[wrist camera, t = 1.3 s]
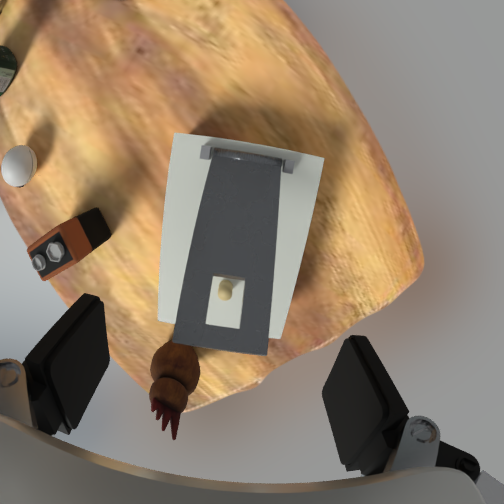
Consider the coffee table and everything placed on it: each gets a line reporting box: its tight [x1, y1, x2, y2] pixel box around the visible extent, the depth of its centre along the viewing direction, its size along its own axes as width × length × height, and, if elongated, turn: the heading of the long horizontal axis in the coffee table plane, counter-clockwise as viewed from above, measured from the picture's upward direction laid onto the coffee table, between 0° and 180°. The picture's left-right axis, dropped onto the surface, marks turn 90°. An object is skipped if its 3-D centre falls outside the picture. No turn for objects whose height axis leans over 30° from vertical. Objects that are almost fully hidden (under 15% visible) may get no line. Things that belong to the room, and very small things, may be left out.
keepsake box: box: [158, 133, 324, 339], centre depth 30 cm, size 20×14×8 cm
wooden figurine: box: [149, 340, 200, 440], centre depth 32 cm, size 7×6×15 cm
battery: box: [27, 208, 111, 281], centre depth 28 cm, size 4×7×10 cm, turn 112°
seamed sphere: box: [1, 145, 39, 187], centre depth 27 cm, size 8×6×6 cm
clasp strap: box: [172, 147, 282, 356], centre depth 21 cm, size 17×6×1 cm
